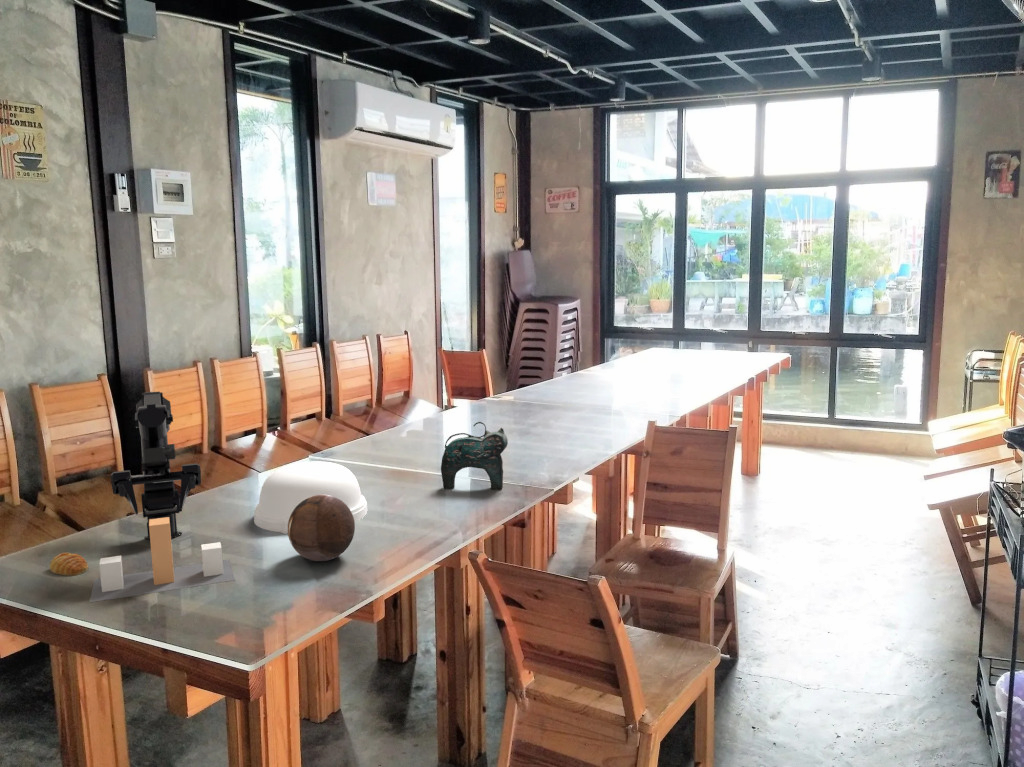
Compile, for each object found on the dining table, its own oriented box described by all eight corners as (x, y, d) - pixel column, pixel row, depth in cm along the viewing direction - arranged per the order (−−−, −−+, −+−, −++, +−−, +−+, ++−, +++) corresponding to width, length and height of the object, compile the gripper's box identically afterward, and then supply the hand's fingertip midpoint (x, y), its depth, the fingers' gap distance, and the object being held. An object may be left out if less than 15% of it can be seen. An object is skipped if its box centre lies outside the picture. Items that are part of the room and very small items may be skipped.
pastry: (97, 572, 192) (95, 556, 191) (67, 581, 187) (65, 565, 186) (76, 564, 198) (74, 548, 197) (46, 573, 192) (44, 557, 192)
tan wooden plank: (154, 577, 186) (149, 519, 184) (173, 574, 188) (169, 517, 186) (154, 585, 181) (149, 525, 180) (174, 582, 183) (169, 523, 181)
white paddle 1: (103, 585, 182) (100, 558, 181) (123, 582, 183) (121, 555, 182) (102, 591, 178) (99, 564, 177) (123, 588, 180) (120, 561, 179)
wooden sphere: (360, 547, 204) (357, 486, 202) (351, 569, 189) (347, 504, 187) (297, 549, 204) (293, 488, 202) (282, 572, 189) (278, 506, 187)
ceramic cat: (508, 485, 257) (507, 420, 254) (506, 491, 251) (505, 424, 248) (443, 485, 259) (441, 420, 256) (439, 490, 253) (437, 424, 250)
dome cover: (340, 537, 213) (337, 482, 211) (230, 532, 219) (226, 478, 217) (384, 501, 244) (382, 453, 242) (287, 497, 250) (284, 450, 248)
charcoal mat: (94, 581, 186) (94, 579, 186) (229, 561, 196) (229, 559, 196) (90, 604, 173) (89, 602, 173) (234, 582, 183) (234, 580, 183)
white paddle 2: (203, 570, 189) (201, 544, 188) (222, 567, 191) (220, 542, 190) (204, 576, 186) (202, 550, 185) (223, 573, 187) (221, 547, 186)
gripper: (107, 436, 189) (109, 497, 181) (197, 428, 196) (203, 487, 187) (112, 464, 197) (114, 523, 189) (198, 455, 204) (203, 512, 196)
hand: (159, 510), depth 190 cm, fingers open, 9 cm apart
